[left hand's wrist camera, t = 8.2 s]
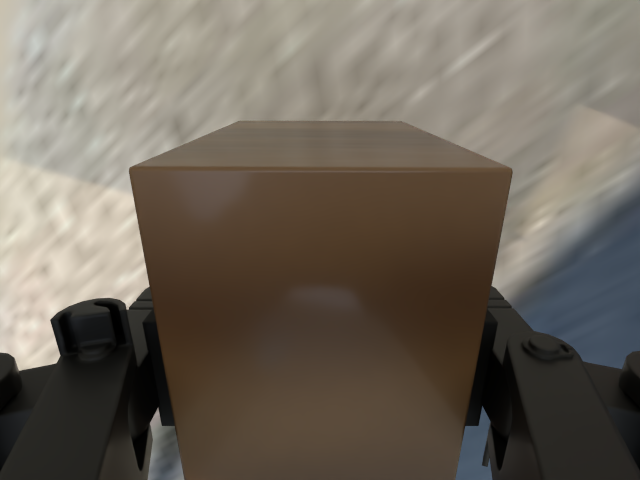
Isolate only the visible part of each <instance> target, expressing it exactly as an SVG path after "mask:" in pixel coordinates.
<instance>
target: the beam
mask: <svg viewBox="0 0 640 480" xmlns="http://www.w3.org/2000/svg"><path fill="white" fill-rule="evenodd" d="M129 174H130V180H131V185H132V191H133V196H134V202H135V208H136V213H137V219H138V224H139V230H140V235H141V241H142V246H143V252H144V257H145V263H146V268H147V274H148V280H149V285H150V291H151V296H152V302H153V307H154V313H155V318H156V324H157V329H158V335H159V341H160V346H161V352H162V357H163V363H164V368H165V374H166V379H167V385H168V390H169V396H170V402H171V407H172V413H173V418H174V424H175V429H176V435H177V440H178V446H179V451H180V457H181V463H182V468H183V474H184V479H185V480H455V477H456V472H457V467H458V461H459V456H460V451H461V445H462V440H463V435H464V429H465V424H466V418H467V413H468V408H469V402H470V397H471V392H472V386H473V381H474V376H475V370H476V365H477V360H478V354H479V349H480V344H481V338H482V333H483V328H484V322H485V317H486V312H487V306H488V301H489V296H490V290H491V285H492V280H493V274H494V269H495V264H496V258H497V253H498V248H499V242H500V237H501V232H502V226H503V221H504V216H505V210H506V205H507V199H508V194H509V189H510V183H511V178H512V169H511V168H509V167H507V166H505V165H502V164H500V163H498V162H495V161H493V160H491V159H488V158H486V157H484V156H481V155H479V154H477V153H474V152H472V151H470V150H467V149H465V148H463V147H460V146H458V145H456V144H453V143H451V142H449V141H446V140H444V139H442V138H439V137H437V136H435V135H432V134H430V133H428V132H425V131H423V130H421V129H418V128H416V127H414V126H411V125H409V124H407V123H404V122H402V121H238V122H236V123H233V124H231V125H229V126H226V127H224V128H222V129H219V130H217V131H215V132H212V133H210V134H208V135H205V136H203V137H201V138H198V139H196V140H193V141H191V142H189V143H186V144H184V145H182V146H179V147H177V148H175V149H172V150H170V151H168V152H165V153H163V154H160V155H158V156H156V157H153V158H151V159H149V160H146V161H144V162H142V163H139V164H137V165H135V166H132V167H130V169H129Z"/></svg>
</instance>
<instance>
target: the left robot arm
mask: <svg viewBox="0 0 640 480" xmlns="http://www.w3.org/2000/svg"><path fill="white" fill-rule="evenodd" d="M50 321H51V324H52V328H53V331H54V335H55V338H56V342H57V345H58V348H59V352H60V355H61V356H60V358H59V360H58V362H57V363H56V364H52V365H47V366H42V367H37V368H32V369H27V370H21V371H19V370H18V367H17V364H16V361H15V358H14V357H12V356H11V355H9V354H7V353H0V480H148V472H149V465H150V457H151V449H152V442H153V438H152V432H151V427H150V422H151V420H152V418H153V416H154V414H155V412H156V410H157V408H159V413H160V418H161V423H162V426H175V424H174V418H173V413H172V407H171V402H170V396H169V390H168V385H167V379H166V374H165V368H164V363H163V357H162V352H161V346H160V341H159V335H158V329H157V324H156V318H155V313H154V307H153V302H152V296H151V291H150V287H149V288H147V289H145V290H144V291H143V292H142V294H141V295H140V296H139V297H138V298H137V299H136V301H134V303H133V304H132V305H131V306H130V307H129V310H126V305H125V303H123V302H122V301H120V300H118V299H112V298H98V299H92V300H87V301H83V302H80V303H77V304H74V305H71V306H69V307H67V308H65V309H63V310H62V311H60V312H58V313H57V314H56V315H55V316H54V317H53V318H52V319H51V320H50ZM482 406H483V407H484V409H485V411H486V413H487V415H488V417H489V419H490V421H491V422H490V427H489V432H488V436H487V441H486V446H485V451H484V456H483V462H482V466H486V467H488V462H489V458H490V464H491V471H492V479H493V480H640V351H636V352H632V353H630V354H629V355H628V356H627V357H626V360H625V363H624V366H623V368H622V369H618V368H613V367H607V366H602V365H597V364H592V363H587V362H583V361H582V359H581V357H580V355H579V354H578V353H577V352H576V351H575V349H574V348H573V347H571V346H570V345H568V344H567V343H565V342H564V341H562V340H560V339H558V338H556V337H553V336H551V335H548V334H544V333H540V332H536V331H533V330H532V329H531V327H530V326H529V325H528V324H527V323H526V322H525V321H524V320H523V318H522V317H521V316H520V315H519V314H518V313H517V312H516V311H515V310H514V308H512V306H511V305H510V304H509V303H508V302H507V301H506V300H504V297H503V296H502V295H501V294H500V293H499V292H498V291H497V289H496V288H494V287H493V286H491V290H490V296H489V301H488V306H487V312H486V317H485V322H484V328H483V333H482V338H481V344H480V349H479V354H478V360H477V365H476V370H475V376H474V381H473V386H472V392H471V397H470V402H469V408H468V413H467V418H466V424H465V426H478V425H479V420H480V415H481V409H482Z"/></svg>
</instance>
